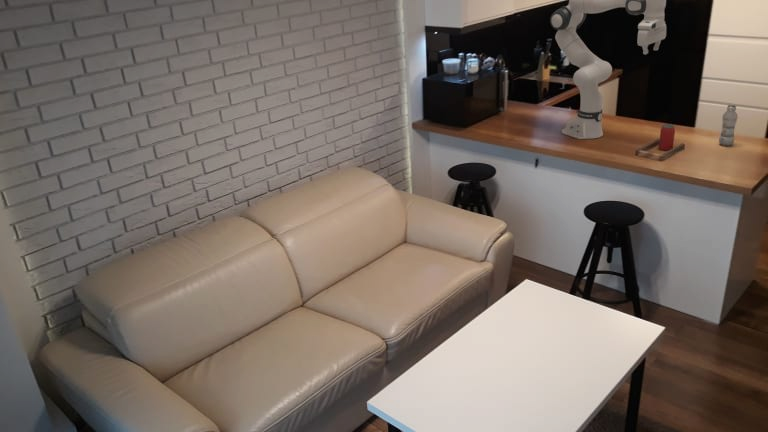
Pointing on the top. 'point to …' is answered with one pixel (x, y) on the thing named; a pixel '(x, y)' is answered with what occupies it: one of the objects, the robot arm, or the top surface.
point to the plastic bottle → (728, 126)
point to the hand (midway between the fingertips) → (650, 52)
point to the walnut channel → (658, 157)
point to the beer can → (666, 137)
